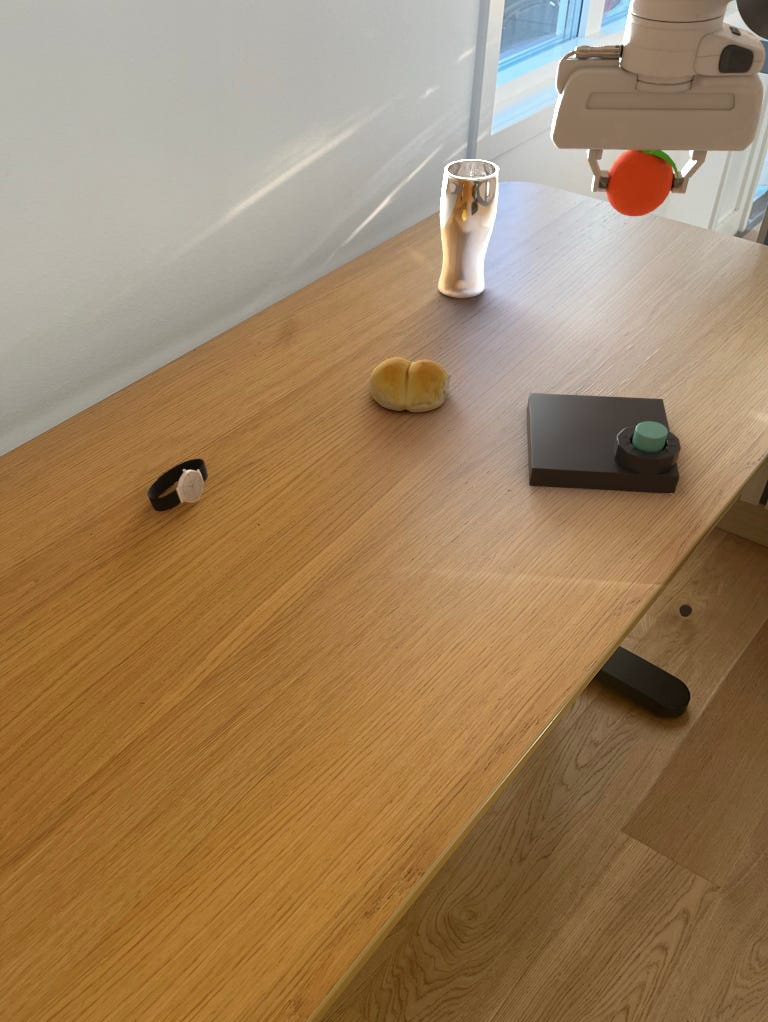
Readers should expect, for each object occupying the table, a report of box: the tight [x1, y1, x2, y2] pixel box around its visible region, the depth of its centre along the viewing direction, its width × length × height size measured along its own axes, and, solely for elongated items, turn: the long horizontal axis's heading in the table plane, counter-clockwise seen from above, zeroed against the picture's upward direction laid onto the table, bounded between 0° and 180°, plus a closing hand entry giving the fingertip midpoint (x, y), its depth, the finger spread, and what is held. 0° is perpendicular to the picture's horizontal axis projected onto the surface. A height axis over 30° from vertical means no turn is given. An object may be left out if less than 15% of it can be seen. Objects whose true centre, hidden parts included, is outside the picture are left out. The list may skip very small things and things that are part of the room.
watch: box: [147, 458, 209, 512], centre depth 95 cm, size 8×5×4 cm, turn 147°
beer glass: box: [437, 159, 500, 299], centre depth 120 cm, size 7×7×15 cm
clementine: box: [605, 150, 679, 217], centre depth 102 cm, size 8×7×7 cm
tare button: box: [632, 421, 668, 452], centre depth 92 cm, size 3×3×2 cm
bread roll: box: [368, 356, 451, 413], centre depth 106 cm, size 8×9×4 cm
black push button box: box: [526, 392, 682, 495], centre depth 97 cm, size 14×14×4 cm
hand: (637, 191), depth 103 cm, fingers closed on clementine, 7 cm apart
